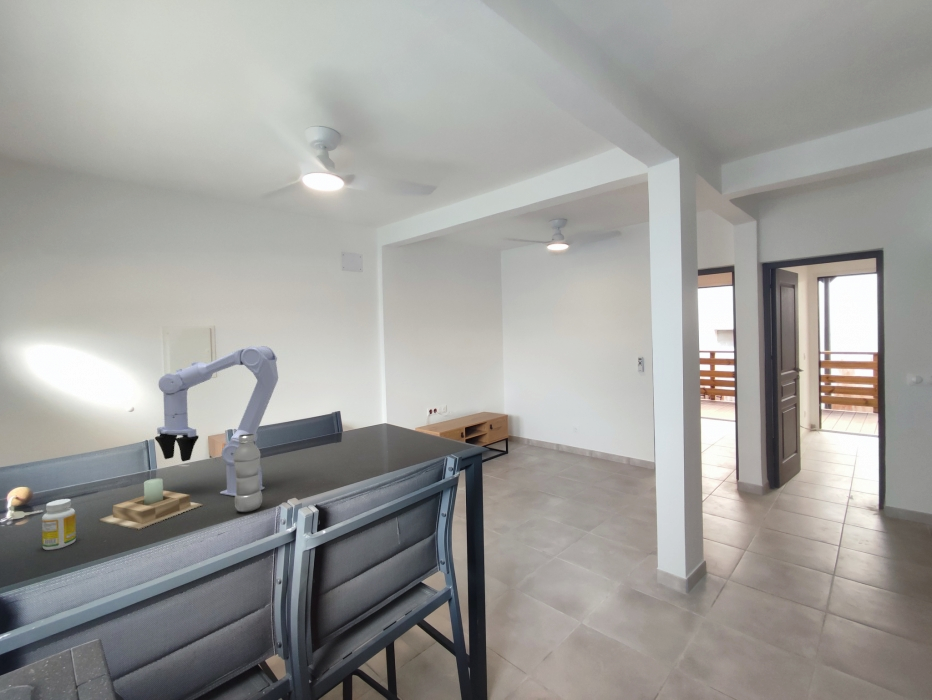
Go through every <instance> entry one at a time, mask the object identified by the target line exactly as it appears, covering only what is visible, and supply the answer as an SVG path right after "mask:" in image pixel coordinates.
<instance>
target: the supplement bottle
mask: <svg viewBox="0 0 932 700" xmlns="http://www.w3.org/2000/svg"><path fill="white" fill-rule="evenodd" d="M45 505H46V506H45V510H46V513H44V514H43V515H42V517H41V525H42V526H41V528H42V530H41V532H42V533H41V534H42V535H41V536H42V548H43V550H46V551H53V550H58V549H62V548H65V547H67V546H70V545H71V544H73V543H75V542H76V539H77V538H76V537H77V535H76V533H77V532H76V531H77V530H76V528H77V527H76V510H75V509H74V508H73V507H71V506H72V499H70V498H61V499H56V500H52V501H50V502H47V503H46V504H45Z"/></svg>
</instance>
